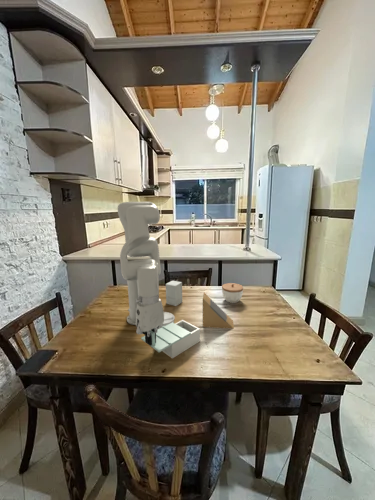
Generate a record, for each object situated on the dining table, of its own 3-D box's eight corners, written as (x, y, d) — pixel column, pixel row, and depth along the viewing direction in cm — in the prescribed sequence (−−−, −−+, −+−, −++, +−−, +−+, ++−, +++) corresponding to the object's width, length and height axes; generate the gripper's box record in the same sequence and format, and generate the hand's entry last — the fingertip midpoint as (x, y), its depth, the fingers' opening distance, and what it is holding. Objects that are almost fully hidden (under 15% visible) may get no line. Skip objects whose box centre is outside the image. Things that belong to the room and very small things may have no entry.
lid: (141, 339, 92) (140, 326, 91) (172, 324, 104) (172, 312, 102) (159, 352, 84) (158, 338, 83) (190, 334, 96) (190, 321, 94)
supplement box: (182, 301, 141) (182, 282, 138) (175, 306, 135) (175, 286, 132) (173, 299, 145) (172, 280, 142) (165, 303, 139) (165, 283, 136)
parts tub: (155, 346, 98) (154, 333, 97) (182, 331, 109) (182, 319, 108) (172, 358, 90) (172, 344, 89) (200, 341, 101) (200, 328, 100)
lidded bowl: (227, 294, 151) (227, 278, 148) (245, 299, 143) (246, 282, 141) (218, 301, 141) (218, 284, 138) (237, 306, 133) (238, 288, 131)
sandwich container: (234, 329, 111) (235, 300, 107) (202, 327, 113) (202, 298, 109) (233, 320, 119) (234, 292, 116) (203, 318, 121) (203, 291, 118)
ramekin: (166, 336, 105) (166, 325, 104) (147, 329, 111) (146, 319, 110) (179, 324, 115) (179, 315, 114) (160, 319, 120) (160, 310, 119)
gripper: (136, 308, 77) (139, 356, 81) (171, 294, 87) (172, 338, 91) (124, 301, 82) (127, 347, 86) (159, 289, 93) (160, 331, 96)
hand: (150, 342), depth 88 cm, fingers closed
